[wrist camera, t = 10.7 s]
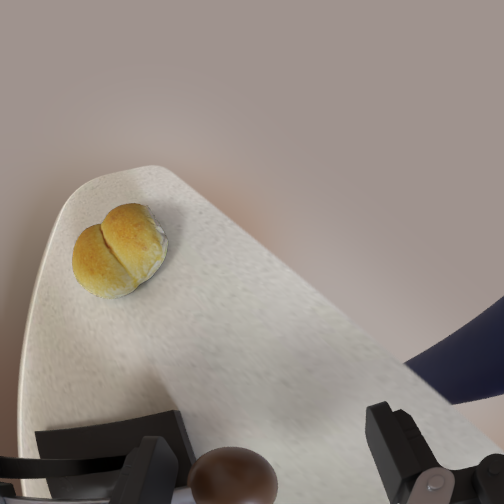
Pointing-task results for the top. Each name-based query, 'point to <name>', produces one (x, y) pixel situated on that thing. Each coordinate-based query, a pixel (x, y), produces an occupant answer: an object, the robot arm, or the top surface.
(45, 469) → the slicer
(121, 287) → the bread roll
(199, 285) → the top surface
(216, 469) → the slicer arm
